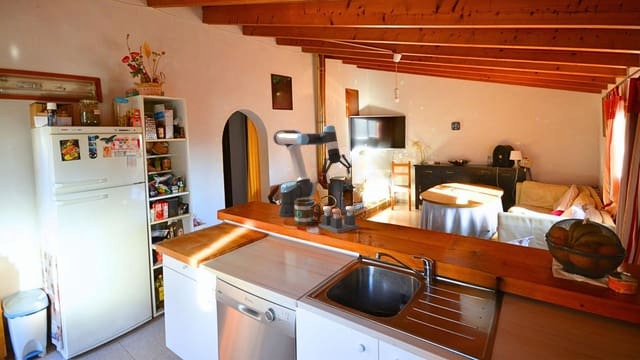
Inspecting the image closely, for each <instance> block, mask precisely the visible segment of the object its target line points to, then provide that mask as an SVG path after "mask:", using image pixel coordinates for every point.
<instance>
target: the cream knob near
mask: <svg viewBox="0 0 640 360" xmlns="http://www.w3.org/2000/svg"><path fill="white" fill-rule="evenodd" d="M322 209H323V210H322V211H323V212H324V214H323V215H326V216H328V215H330V213H331V211H332V206H329V205H328V206H327V205H326V206H325V205H324V206H323V207H322Z"/></svg>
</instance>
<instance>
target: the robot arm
mask: <svg viewBox="0 0 640 360" xmlns="http://www.w3.org/2000/svg"><path fill="white" fill-rule="evenodd" d="M272 138H273V139H272V140H273V141H274V143H275V144H276V145H277V146H283V147H284V146H285V147H286V150H288V151H289V154H290V155H289V156H290V158H291V163H292V166H293V171H294V176H295V181H288V182H285V183H282V184H281V185H280V203H281V204H280V206H279V207H280V208H279V210H278V211H279V212H278V215H279V216H280V217H282V218H292V217H293V218H295V214H294V210H295V205H294V201H295V200H298V199H311V198H313V197H314V195H315V193H316V184H315V183H314V182H312V181H311V179H310V178H309V177H308V175H307V174H308V173H307V170H306V166H305V163H304V159H303V155H302V149H301V147H302V146H312V145H314V146H315V145H316V146H318V147H320V146H323V145H326V150H327V155H328V157H327V158H324V159H323V160H324V161H323V165H322V169H321V173H322V174H324V178H325V179H326V181H327V183H328V184H330V183H331V181H330V175H329V173H328V172H329V170H330V169H331V166H332V165H335V164H338V163H340V164H341V165H342V166H343V167H344V168H345V173H346V179H347V180H350V179H351V178H350V174H351V171H350V169H351V168H352V167H353V165H352V164H351V162H350V161H349V160H348V158H347V157H346V155H345V154H343V153H342V154H341V153H340V149H339V144H338V143H339V142H338V136H337V130H336V127H335V126H334V125H331V124H330V125H326V126H323V131H322V132H318V133H302V132H301V131H299V130H298V129H297V130H295V129H283V130H282V129H281V130H277V131H276V132H274V133H273V137H272ZM341 158H342V159H343V160H344V162H345V163H344V162H343V160H341ZM327 164H328V165H327Z"/></svg>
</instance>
